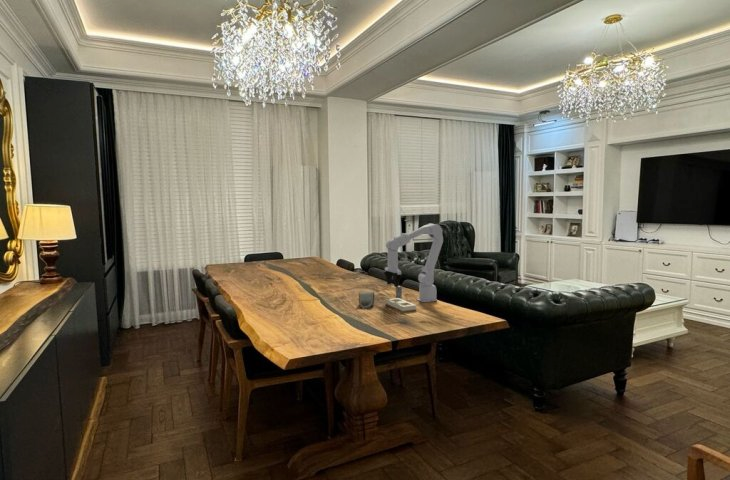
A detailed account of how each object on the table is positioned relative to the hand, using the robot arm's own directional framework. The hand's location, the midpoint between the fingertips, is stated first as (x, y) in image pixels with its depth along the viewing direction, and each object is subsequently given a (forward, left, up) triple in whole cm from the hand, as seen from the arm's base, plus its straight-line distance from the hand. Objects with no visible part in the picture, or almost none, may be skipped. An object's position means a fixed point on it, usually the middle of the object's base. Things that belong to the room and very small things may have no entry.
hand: (392, 285), depth 236 cm
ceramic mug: (+16, 0, -10) cm, 19 cm away
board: (+2, +12, -10) cm, 15 cm away
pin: (-6, -3, -10) cm, 12 cm away
